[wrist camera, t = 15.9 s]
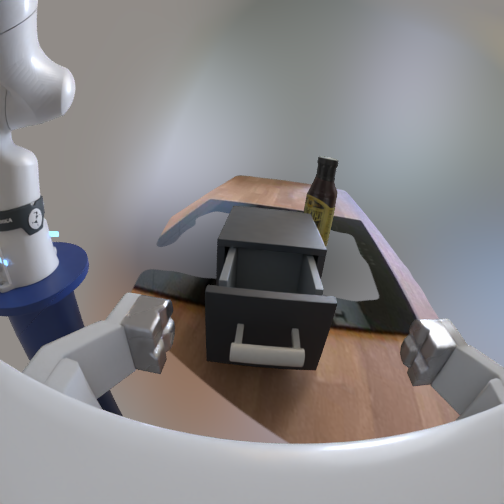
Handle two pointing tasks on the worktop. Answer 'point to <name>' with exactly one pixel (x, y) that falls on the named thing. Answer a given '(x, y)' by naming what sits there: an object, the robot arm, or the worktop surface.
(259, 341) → the drawer
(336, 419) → the worktop surface
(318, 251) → the cabinet
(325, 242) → the sauce bottle
